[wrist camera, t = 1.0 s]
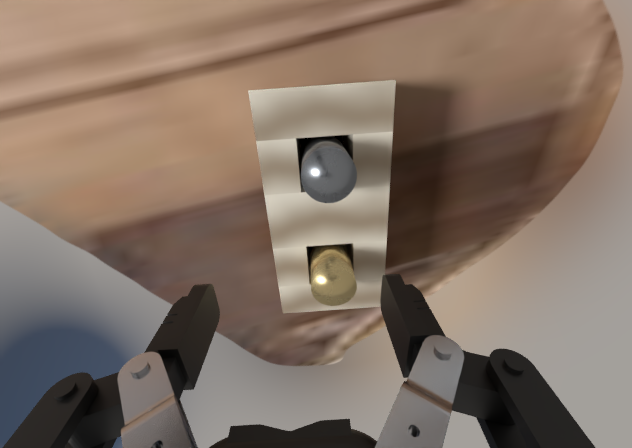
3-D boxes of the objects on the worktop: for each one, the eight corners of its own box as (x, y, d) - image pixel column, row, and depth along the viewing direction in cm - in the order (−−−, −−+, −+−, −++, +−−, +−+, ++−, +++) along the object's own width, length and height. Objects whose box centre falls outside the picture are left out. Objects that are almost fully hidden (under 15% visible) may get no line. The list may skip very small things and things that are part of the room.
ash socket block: (262, 90, 29) (248, 90, 22) (374, 82, 29) (395, 79, 22) (287, 273, 40) (282, 313, 33) (369, 267, 40) (383, 306, 33)
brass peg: (308, 235, 32) (309, 271, 25) (347, 232, 32) (356, 267, 25) (311, 266, 34) (312, 307, 27) (347, 264, 34) (356, 304, 27)
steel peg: (300, 136, 27) (298, 150, 21) (345, 133, 27) (357, 146, 21) (304, 180, 29) (303, 205, 22) (346, 177, 29) (357, 201, 22)
